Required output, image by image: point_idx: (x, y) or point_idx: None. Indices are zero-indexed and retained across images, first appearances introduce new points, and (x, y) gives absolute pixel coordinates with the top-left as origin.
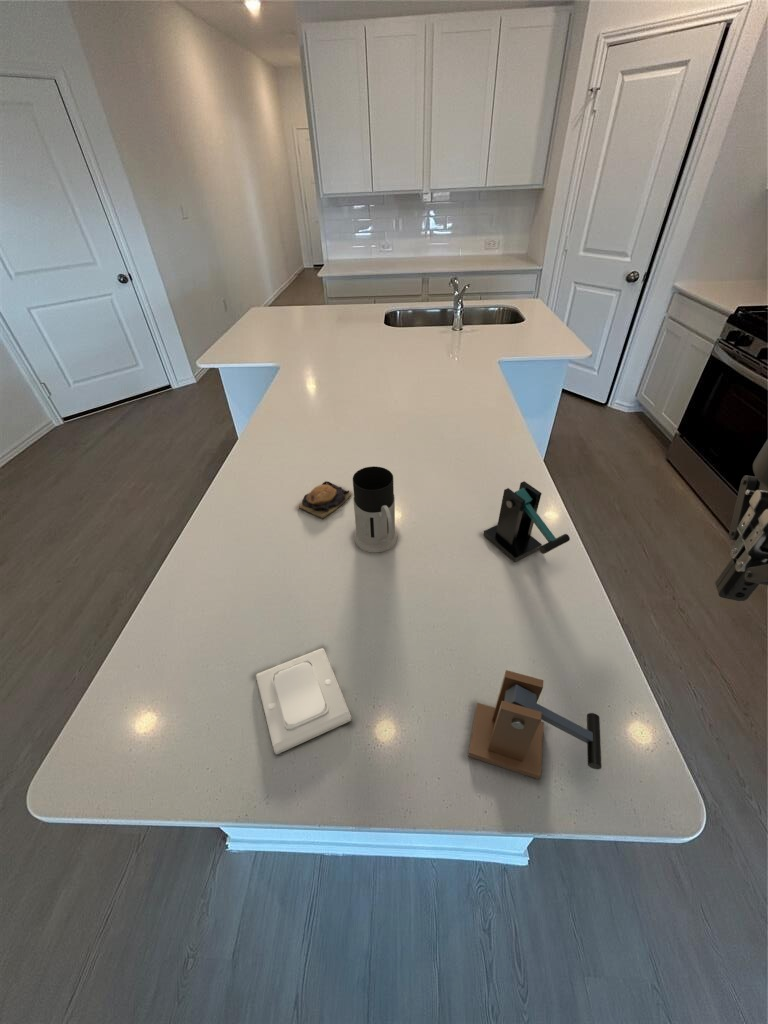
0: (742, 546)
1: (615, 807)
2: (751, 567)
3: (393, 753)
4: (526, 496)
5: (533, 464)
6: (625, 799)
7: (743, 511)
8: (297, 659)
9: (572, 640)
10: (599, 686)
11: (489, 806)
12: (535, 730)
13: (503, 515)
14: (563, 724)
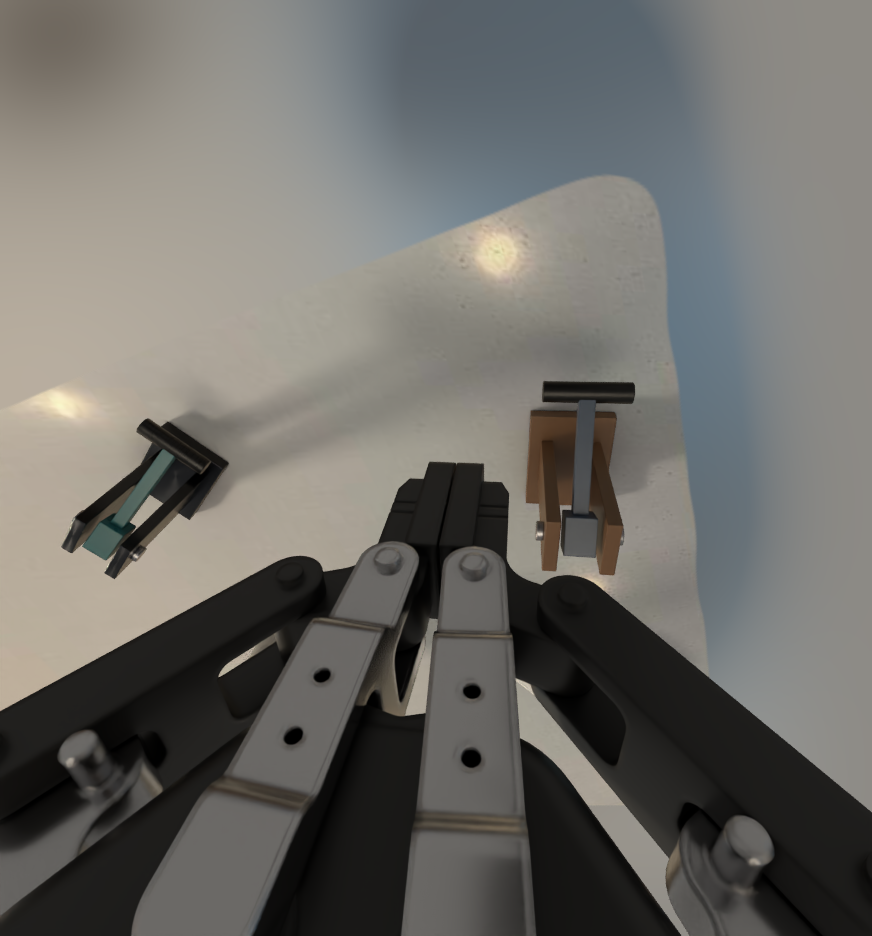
0: (411, 687)
1: (635, 303)
2: (547, 709)
3: (616, 575)
4: (101, 536)
5: None
6: (619, 287)
7: (229, 738)
8: (527, 688)
9: (353, 364)
10: (429, 321)
11: (662, 469)
12: (617, 504)
13: (157, 533)
14: (589, 457)
